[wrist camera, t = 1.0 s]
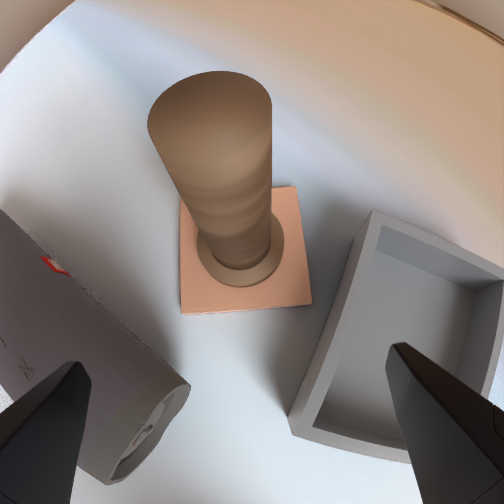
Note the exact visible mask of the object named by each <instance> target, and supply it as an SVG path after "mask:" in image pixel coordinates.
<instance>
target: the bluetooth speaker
mask: <svg viewBox="0 0 504 504" xmlns="http://www.w3.org/2000/svg"><path fill="white" fill-rule="evenodd" d="M68 360H75V361H80V362H81V363H82V364H83V366H84V368H85V369H86V371H87V373H88V375H89V376H90V378H91V381H92V388H91V394H90V400H89V406H88V413H87V420H86V426H85V431H84V435H83V439H82V443H81V448H80V452H79V457H78V461H77V465H78V466H79V467H80V468H81V469H83V470H84V471H86V472H87V473H89V474H90V475H92V476H93V477H95V478H96V479H97V480H99V481H100V482H102V483H104V484H105V485H111V484H114V483H117V482H120V481H123V480H124V479H125V478H126V477H128V476H129V475H130V474H131V473H132V472H133V471H134V470H135V469H136V468H137V467H138V466H139V465H140V464H141V463H142V462H143V461H144V460H145V458H146V457H147V456H148V455H149V454H150V453H151V452H152V450H153V449H154V448H155V447H156V445H157V444H158V442H159V441H160V439H161V437H162V435H163V433H164V431H165V430H166V428H167V426H168V425H169V423H170V422H171V420H172V419H173V418H174V416H175V415H176V414H177V413H178V412H179V411H180V410H181V409H182V407H183V405H184V404H185V402H186V400H187V398H188V396H189V393H190V390H191V385H190V384H189V383H188V382H187V381H186V380H184V379H183V378H182V377H181V376H180V375H179V374H178V373H177V372H176V371H174V370H173V369H172V368H171V367H170V366H169V365H168V364H167V363H166V362H165V361H163V360H162V359H161V358H160V357H159V356H158V355H157V354H155V353H154V352H153V351H152V350H151V349H149V348H148V347H147V346H146V345H145V344H144V343H142V342H141V341H140V340H139V339H138V338H137V337H136V336H134V335H133V334H132V333H131V332H130V331H129V330H128V329H126V328H125V327H124V326H123V325H122V324H121V323H120V322H119V321H117V320H116V319H115V318H114V317H113V316H112V315H111V314H110V313H109V312H108V311H106V310H105V309H104V308H103V307H102V306H101V305H100V304H99V303H98V302H97V301H96V300H94V299H93V298H92V297H91V296H90V295H89V294H88V293H87V292H86V291H85V290H84V289H83V288H82V287H81V286H80V285H79V284H78V283H77V282H75V281H74V280H73V279H72V278H71V276H70V275H69V274H68V273H67V272H66V271H65V270H64V269H63V268H62V267H61V266H60V265H59V264H58V263H57V262H56V261H55V260H53V259H52V258H51V257H50V256H49V255H47V254H46V253H45V252H44V251H43V250H42V249H41V248H40V247H39V246H38V245H37V244H36V243H35V242H34V241H33V240H32V239H31V238H30V237H29V236H28V235H27V234H26V233H25V232H24V231H23V230H22V229H21V228H20V227H19V226H18V225H17V224H16V223H15V222H14V221H13V220H12V219H11V218H10V217H9V216H8V215H7V214H6V213H4V212H3V211H2V210H0V384H1V386H2V387H3V388H4V390H5V391H6V392H7V393H8V395H9V396H10V397H11V398H12V400H13V401H14V402H15V401H16V400H18V399H19V398H20V397H22V396H23V395H24V394H25V393H27V392H28V391H29V390H30V389H32V388H33V387H34V386H36V385H37V384H38V383H39V382H41V381H42V380H43V379H45V378H46V377H47V376H48V375H50V374H51V373H52V372H54V371H55V370H56V369H58V368H59V367H60V366H61V365H63V364H64V363H65V362H67V361H68Z"/></svg>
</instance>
